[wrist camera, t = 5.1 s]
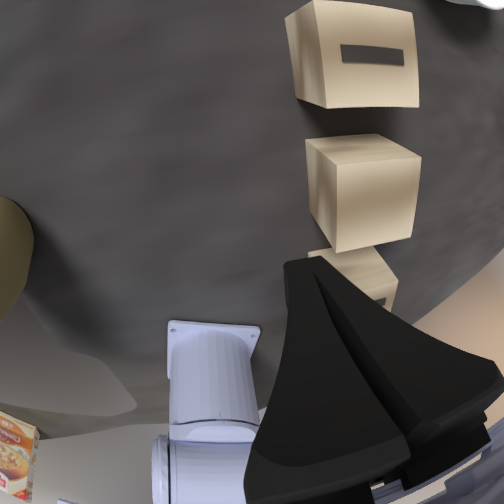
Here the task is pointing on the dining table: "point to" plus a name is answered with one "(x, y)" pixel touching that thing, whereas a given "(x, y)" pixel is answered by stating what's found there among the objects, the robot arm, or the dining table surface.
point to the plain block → (362, 189)
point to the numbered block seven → (364, 272)
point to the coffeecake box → (17, 456)
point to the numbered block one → (353, 55)
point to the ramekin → (482, 3)
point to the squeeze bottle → (13, 253)
